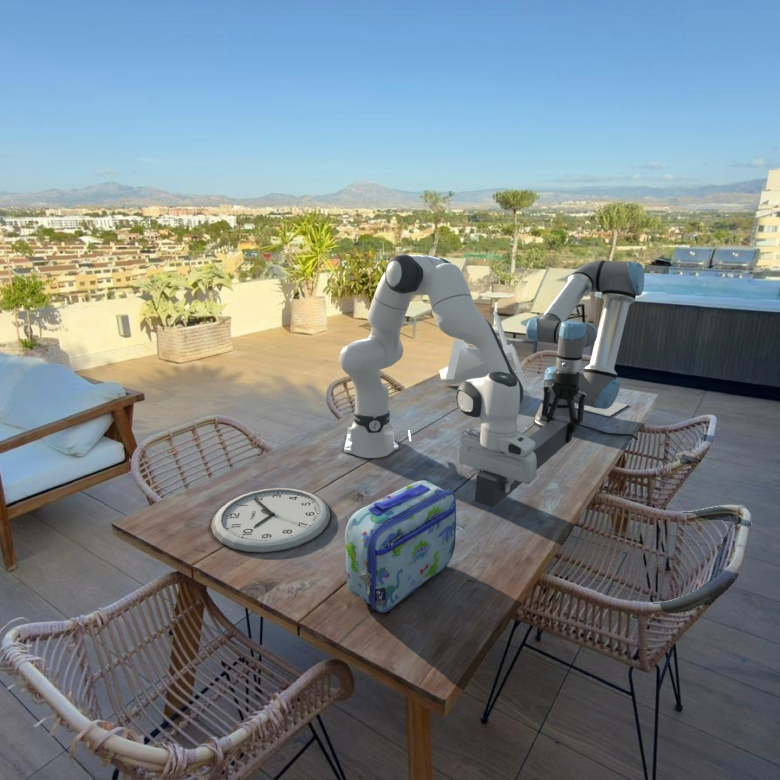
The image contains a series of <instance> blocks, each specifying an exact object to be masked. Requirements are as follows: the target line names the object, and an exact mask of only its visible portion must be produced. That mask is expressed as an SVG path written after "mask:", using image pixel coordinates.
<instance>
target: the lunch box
mask: <svg viewBox="0 0 780 780" xmlns="http://www.w3.org/2000/svg"><path fill="white" fill-rule="evenodd" d="M456 531H457V499H456V495H455V493H454V492H453V490H450V489H442V488H440V487H439V486H437V485H435V484H433V483H432V482H430V481H428V480H418V481H416V482H413V483H410V484H409V485H406V486H405V487H402V488H400V489H398V490H396V491H394V492H392V493H390V494H388V495H385V496H383V497H382V498H380V499H378V500H376V501H374V502H372V503H370V504H368V505H366V506H364V507H361V508H360V509H358V510H357V511H356V512H355V511H354V513H352V515H351V517H350V518H349V520H348V521H347V524H346V526H345V531H344V552H345V577H346V578H345V580H346V586H347V589H348V592H349V593H350V594H352V595H354V596H356V597H357V598H359V599H361V600H363V602H365V603H367V604H368V605H370V607H371V608H372V609H373V610H375V611H376V612H378V613H380V614H382V613H383V614H385V613H387V612H389V611H391V609H393V608H394V607H395V606H396V605H397V604H400V602H401V601H402V600H404V599H406V597H409V596H410V595H411V594H412V593H414V592H415V591H416V590H417V589H418V588H420V587H421V586H422V585H423V584H424V583H425V582H427V581H428V580H430V579H432V578H433V577H434V576H436V575H437V574H439V573H441V572H442V571H443V570H445V568H446V567H447V566H448V564H449V563H450V561H451V560H452V557H453V554H454V551H455V548H456V547H455V546H456Z"/></svg>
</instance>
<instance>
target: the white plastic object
mask: <svg viewBox="0 0 780 780" xmlns="http://www.w3.org/2000/svg"><path fill="white" fill-rule="evenodd" d="M492 315H493V319H494V321H495V324H496V325H495V326H496V328H497V332H498V335H499V338H500V342H501V346H502V348H503V350H504V352H505V355H506V357H507V359H508V361H510V360H513V363H514V366H515V369H516V372H517V377H518V379H519V380H520V382H521V384H522V386H523V391H524V395H525V396H526V397H528V396H531V395H530V390H529V388H528V387H529V386H528V384H527V381H526V378H525V375H524V371H523V369H522V368H523V367H522V366H521V362H520V359H519V355H518V352H517V349H516V347H515V346H514V345H513V343H511V344H508V341H507V337H506V334H505V331H504V328H503V325H502V321H501V318H500V315H499V314H498V312H497V311H496V310H495V311H492ZM438 372H439V376H440V381H442V383H443V384H444V385H445V386H449V385H458V384H459V385H460V384H461V383H462V382H463V381H466V380H469V379H475V378H482V377H485V376H487V375H488V374H490V371H489V369H488V367H487V365H486V363H485V360H484V358H483V356H482V354H481V352H480V350H479V349H478V348H477V347H476V346H474V345H473V346H469V345H468V343H466V341H464V340H461V339H457V338H454V340H453V344H452V349H451V353H450V357H449V362H448V366H446V367H444V368H442V369H440V370H439V371H438Z"/></svg>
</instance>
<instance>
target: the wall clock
mask: <svg viewBox="0 0 780 780" xmlns="http://www.w3.org/2000/svg"><path fill="white" fill-rule="evenodd" d="M330 518H331V512H330V507H329V506H328V505H327V503H326V502H325V501H324V500H323V499H322V498H321V497H318V496H317V495H315V494H313V493H310V492H308V491H305V490H300V489H295V488H286V487H285V488H284V487H283V488H281V487H275V488H267V489H266V488H264V489H261V490H260V489H259V490H255V491H251V492H248V493H245V494H243V495H242V494H241V495H239V496H237V497H235V498H234V499H232V500H230V501H228V502H227V503H226V504H224V505H223V506H222V507H220V508H219V509H218V510H217V511H216V513H215V515H214V516H213V517H212V521H211V526H210V528H211V531H212V534H213V536H214V538H216V540H217V541H219V542H220V544H223V545H224V546H227V547H229V548H230V549H232V550H233V549H234V550H237V551H242V552H245V553H246V552H247V553H270V552H280V551H285V550H288V549H292V548H295V547H298V546H301V545H304V544H305V543H308V542H309V541H312V540H313V539H314V538H316V537H318V536H319V535H320V534H322V533H323V531H325V529H326V528H327V526H328V525H329V522H330Z"/></svg>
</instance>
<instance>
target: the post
mask: <svg viewBox="0 0 780 780" xmlns="http://www.w3.org/2000/svg"><path fill="white" fill-rule="evenodd" d="M570 422H571V421H570V417H565V416H561V415H558V416H557V417H555V418H554V419H553V420H551V421H550V422H549V423H547V424H546V425H545V426H543V427H539V429H537V430H536V431H535V432H534V433H532V434H530V436H527V437H528V438H530V439H532V440H533V441H534V442H535V448H534V449H533V452H534V453H535V455H536V460H537V470H538V469H539V468H541V467H542V466H543V465H544V464H545V463H546V462H548V461H549V460H550V459H551V458H552V457H554V455H555V454H557V453H558V452H559V451H560V450H561V449H562V448H563V447H565V446H566V445H567V444H568V443H566V437H567V429H568V423H570ZM571 440H573V435H572V436H571ZM475 479H476V480H475V491H474V502H476V503H478V504H481V505H484V506H487V507H490V508H493V509H494V508H496V507H497V505H499V504H500V503H501V502H502V501H504V499H505V498H507V497H508V496H509V495H510V494H511V493H512V492H513V491H515V490H516V489H517V488H518V487H519V486H521V484H522V482H519V481H516V480H514V482H513V483H512V484H511V485H510V491H509V492H508V493H505V492H502V485H504V484H505V483H506V484H507V483H508V482H509V481H507V478H506V477H503V476H500V475H497V474H494V473H490V472H487V471H484V470H482V472H480V473H479V474H478V475H476V477H475Z"/></svg>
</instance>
